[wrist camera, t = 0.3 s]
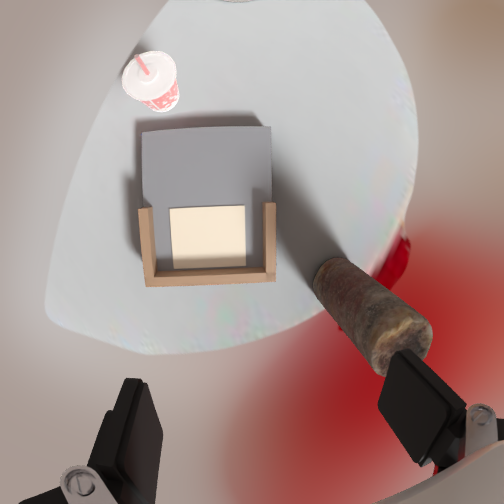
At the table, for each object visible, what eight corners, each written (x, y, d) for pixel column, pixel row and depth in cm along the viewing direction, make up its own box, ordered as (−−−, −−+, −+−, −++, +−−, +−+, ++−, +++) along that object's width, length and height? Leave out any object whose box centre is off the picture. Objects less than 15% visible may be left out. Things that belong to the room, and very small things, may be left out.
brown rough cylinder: (337, 310, 43) (404, 386, 24) (300, 291, 42) (359, 371, 22) (362, 269, 42) (447, 325, 23) (327, 247, 40) (409, 300, 21)
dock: (147, 135, 34) (136, 128, 28) (266, 130, 35) (274, 122, 30) (154, 273, 38) (145, 287, 33) (268, 268, 40) (275, 281, 35)
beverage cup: (186, 76, 32) (172, 26, 19) (183, 116, 34) (165, 81, 20) (143, 79, 32) (111, 35, 18) (139, 119, 33) (101, 89, 19)
